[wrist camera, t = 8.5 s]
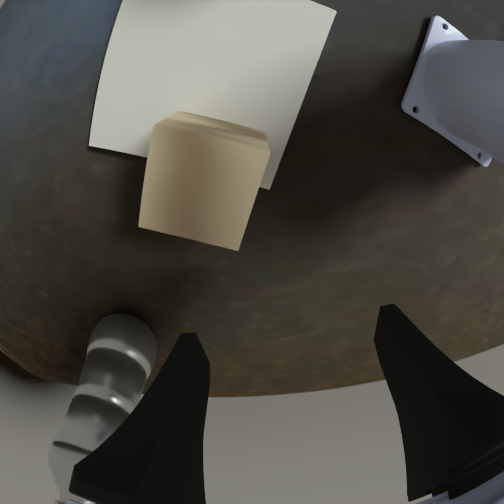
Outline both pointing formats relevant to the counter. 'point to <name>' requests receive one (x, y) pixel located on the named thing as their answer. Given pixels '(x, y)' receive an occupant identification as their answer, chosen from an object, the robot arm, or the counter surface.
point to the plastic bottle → (102, 393)
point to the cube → (202, 178)
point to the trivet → (208, 68)
